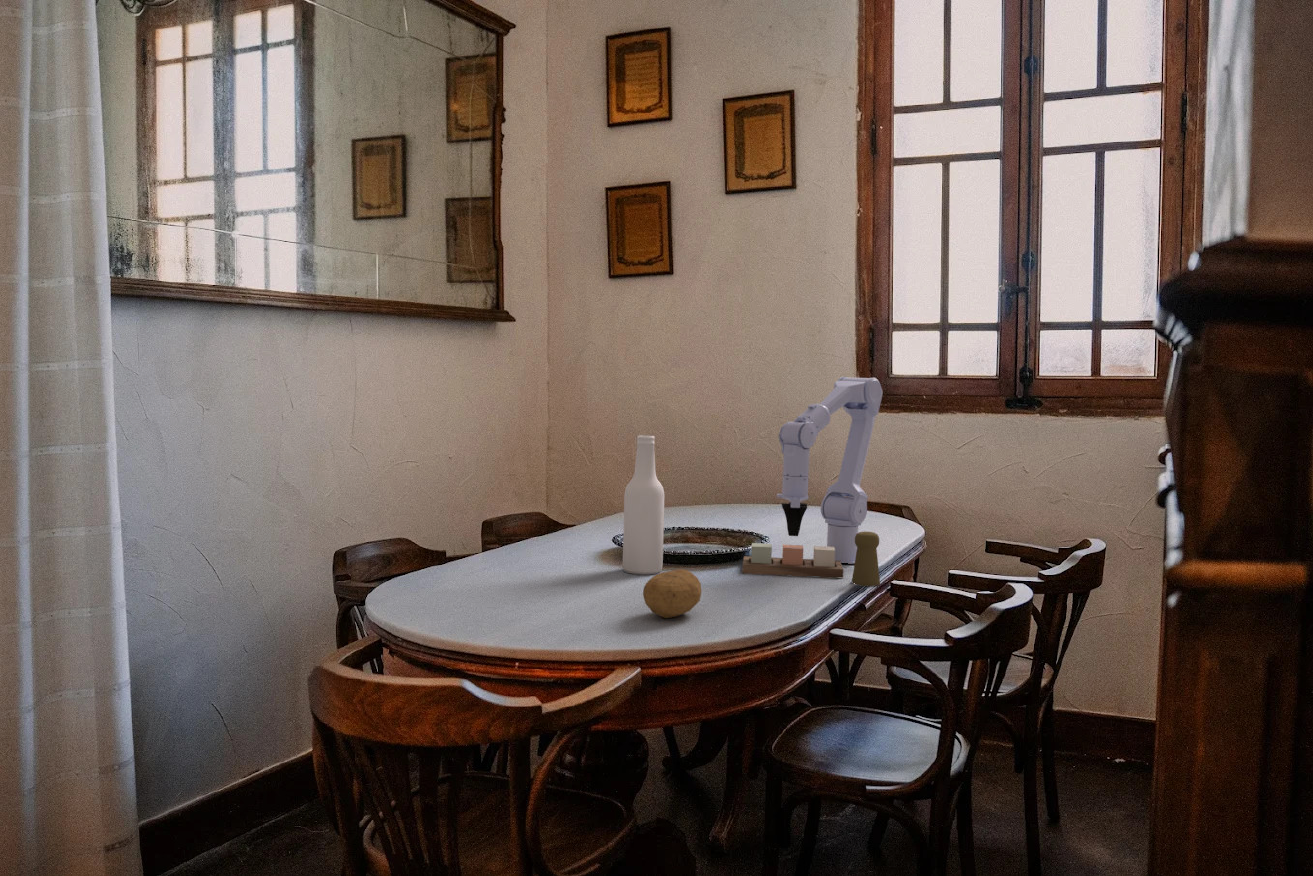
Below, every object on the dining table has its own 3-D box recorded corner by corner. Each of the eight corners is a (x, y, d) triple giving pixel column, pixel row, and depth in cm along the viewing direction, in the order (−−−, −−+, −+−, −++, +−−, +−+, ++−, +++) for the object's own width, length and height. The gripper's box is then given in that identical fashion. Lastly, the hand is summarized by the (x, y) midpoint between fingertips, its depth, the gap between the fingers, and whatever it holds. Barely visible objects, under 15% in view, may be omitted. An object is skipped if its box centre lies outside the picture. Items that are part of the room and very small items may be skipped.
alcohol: (662, 575, 224) (666, 437, 221) (622, 574, 224) (625, 436, 221) (662, 567, 232) (665, 435, 230) (623, 566, 232) (626, 434, 230)
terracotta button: (782, 561, 235) (782, 544, 234) (802, 562, 234) (802, 545, 234) (782, 565, 230) (783, 548, 230) (802, 566, 230) (803, 548, 229)
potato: (627, 620, 185) (628, 576, 184) (665, 605, 197) (667, 563, 196) (674, 628, 180) (676, 583, 179) (711, 612, 192) (712, 570, 191)
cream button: (813, 563, 234) (813, 545, 234) (833, 564, 233) (834, 546, 233) (814, 567, 229) (814, 549, 229) (834, 568, 229) (835, 550, 229)
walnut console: (743, 564, 238) (744, 556, 238) (840, 569, 236) (840, 560, 236) (742, 573, 229) (742, 564, 228) (843, 578, 226) (843, 569, 226)
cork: (866, 587, 218) (867, 536, 216) (845, 581, 223) (846, 531, 221) (886, 583, 221) (887, 533, 220) (865, 577, 226) (867, 528, 225)
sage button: (751, 560, 235) (751, 543, 235) (771, 561, 235) (771, 544, 235) (750, 564, 231) (751, 546, 231) (771, 565, 230) (771, 547, 230)
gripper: (777, 471, 238) (775, 529, 239) (777, 478, 224) (775, 540, 225) (808, 472, 238) (805, 531, 239) (810, 479, 223) (808, 541, 224)
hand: (793, 535), depth 232 cm, fingers closed
